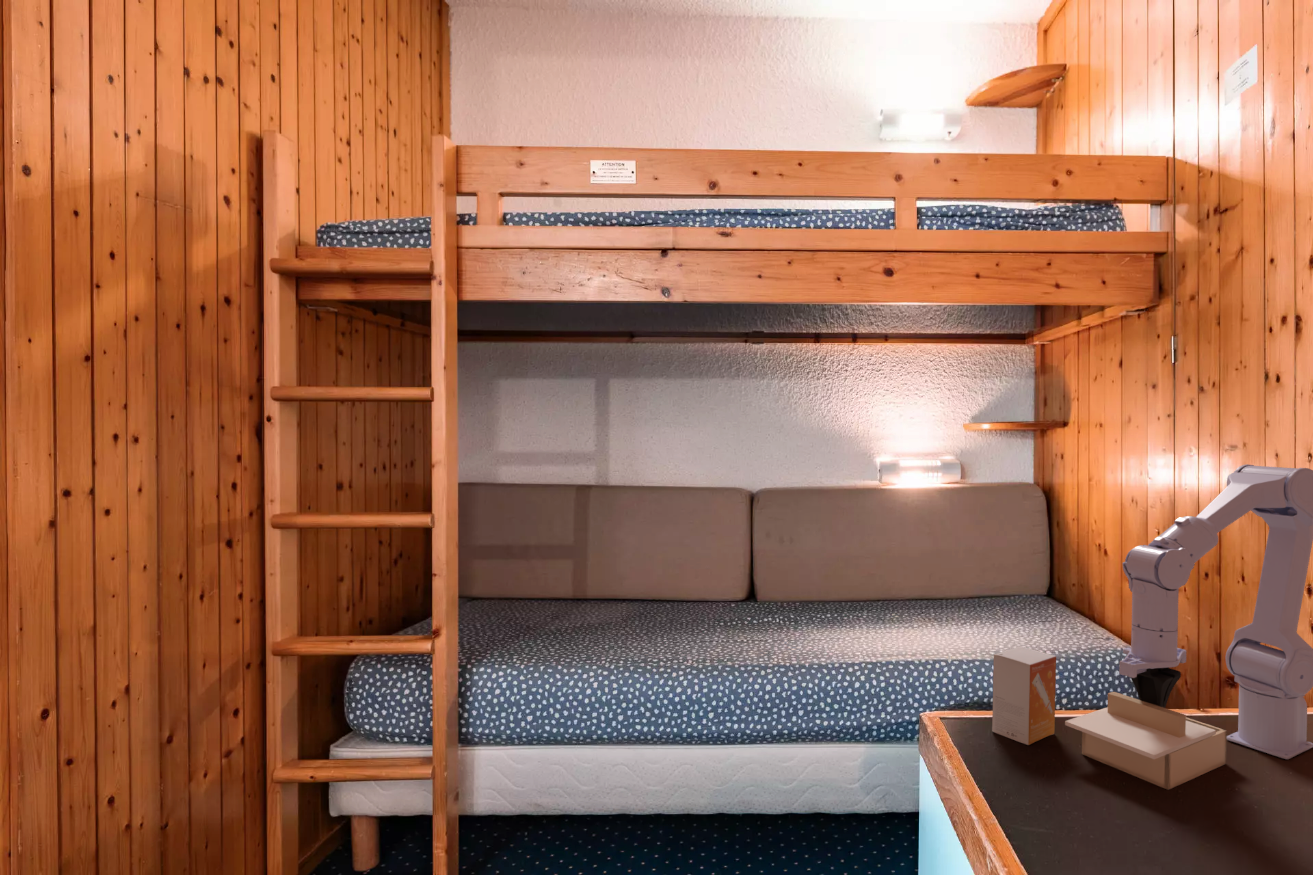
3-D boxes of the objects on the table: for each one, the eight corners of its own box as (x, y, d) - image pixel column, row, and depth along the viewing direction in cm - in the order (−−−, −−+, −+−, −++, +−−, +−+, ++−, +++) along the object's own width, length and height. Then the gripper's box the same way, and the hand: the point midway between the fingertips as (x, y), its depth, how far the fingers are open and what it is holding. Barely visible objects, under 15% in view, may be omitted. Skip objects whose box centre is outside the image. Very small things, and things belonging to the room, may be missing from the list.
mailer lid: (1126, 704, 116) (1127, 682, 116) (1215, 734, 105) (1216, 709, 105) (1065, 724, 108) (1065, 701, 108) (1154, 759, 97) (1154, 733, 97)
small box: (1029, 746, 112) (1030, 664, 112) (991, 731, 118) (992, 653, 117) (1056, 734, 117) (1057, 655, 117) (1018, 720, 122) (1019, 644, 122)
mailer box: (1140, 732, 117) (1140, 702, 117) (1226, 763, 107) (1226, 730, 107) (1081, 754, 110) (1082, 721, 110) (1168, 789, 99) (1168, 754, 99)
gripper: (1152, 613, 115) (1150, 697, 115) (1099, 626, 108) (1097, 715, 108) (1202, 625, 108) (1200, 713, 109) (1149, 638, 102) (1147, 733, 102)
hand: (1152, 715), depth 108 cm, fingers closed
